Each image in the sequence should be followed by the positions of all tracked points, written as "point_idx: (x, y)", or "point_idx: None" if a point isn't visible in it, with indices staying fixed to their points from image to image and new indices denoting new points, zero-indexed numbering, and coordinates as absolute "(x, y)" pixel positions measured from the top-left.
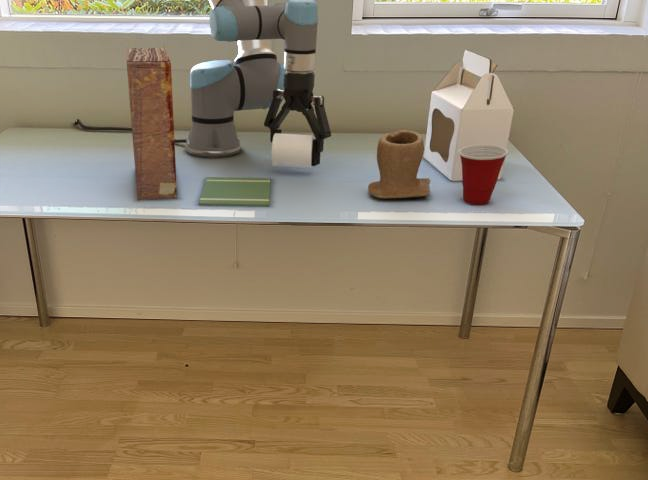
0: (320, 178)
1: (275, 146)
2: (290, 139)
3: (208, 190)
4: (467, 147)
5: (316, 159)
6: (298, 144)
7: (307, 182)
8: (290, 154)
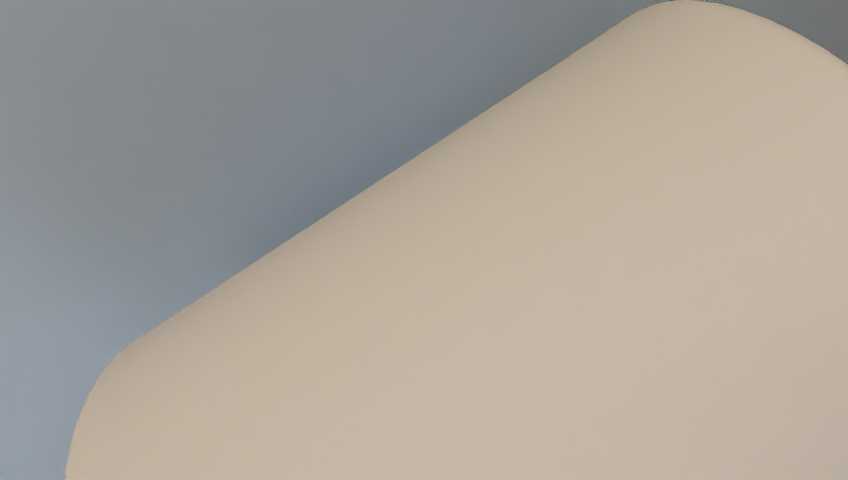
0: (147, 331)
1: (694, 57)
2: (520, 394)
3: None
4: None
5: None
6: (285, 387)
7: (128, 144)
8: (378, 189)
